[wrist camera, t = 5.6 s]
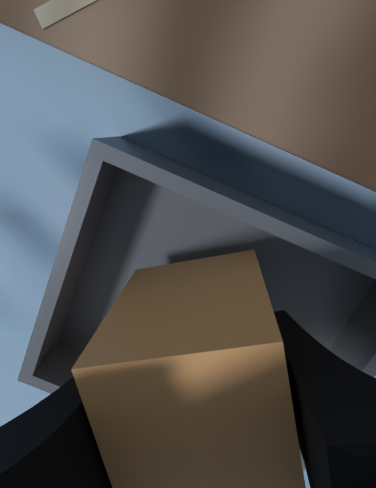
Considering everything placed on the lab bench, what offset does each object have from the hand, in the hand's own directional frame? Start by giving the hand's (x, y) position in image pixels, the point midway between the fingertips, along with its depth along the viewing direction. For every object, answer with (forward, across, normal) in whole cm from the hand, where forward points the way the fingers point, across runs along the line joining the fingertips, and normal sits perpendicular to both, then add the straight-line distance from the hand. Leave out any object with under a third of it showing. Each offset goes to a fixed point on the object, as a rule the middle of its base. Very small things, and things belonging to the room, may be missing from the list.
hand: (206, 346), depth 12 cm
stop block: (+2, 0, 0) cm, 2 cm away
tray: (+3, 0, 0) cm, 3 cm away
